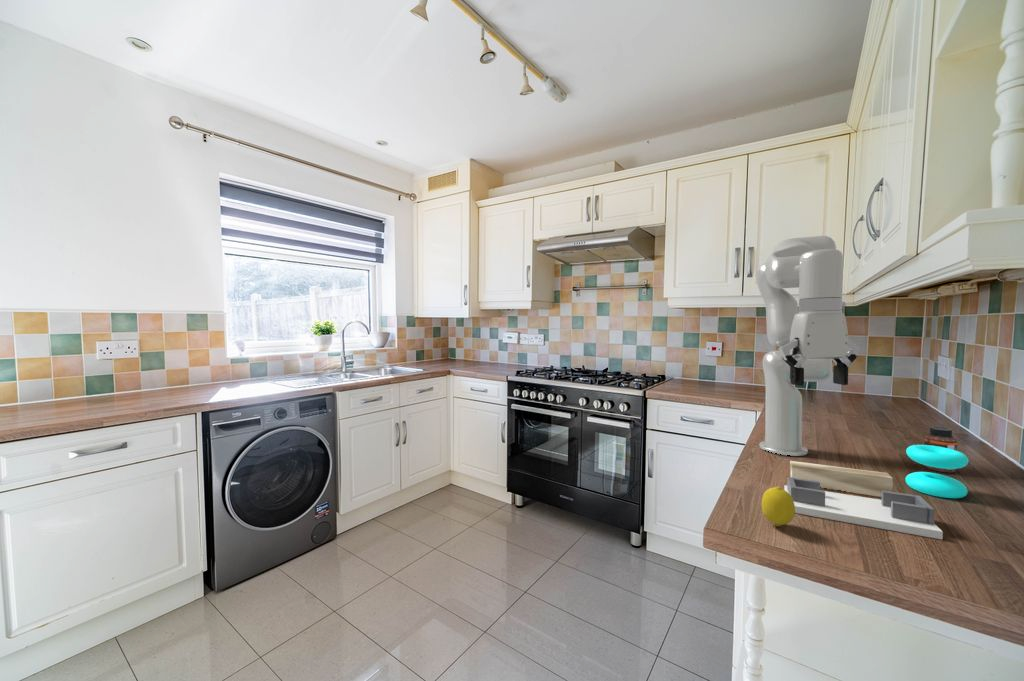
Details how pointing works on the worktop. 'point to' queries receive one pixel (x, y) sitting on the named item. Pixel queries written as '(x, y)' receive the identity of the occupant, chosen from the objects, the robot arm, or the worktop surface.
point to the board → (864, 514)
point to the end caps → (899, 502)
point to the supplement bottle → (941, 443)
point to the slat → (843, 478)
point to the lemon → (778, 506)
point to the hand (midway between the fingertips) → (818, 384)
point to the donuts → (933, 481)
